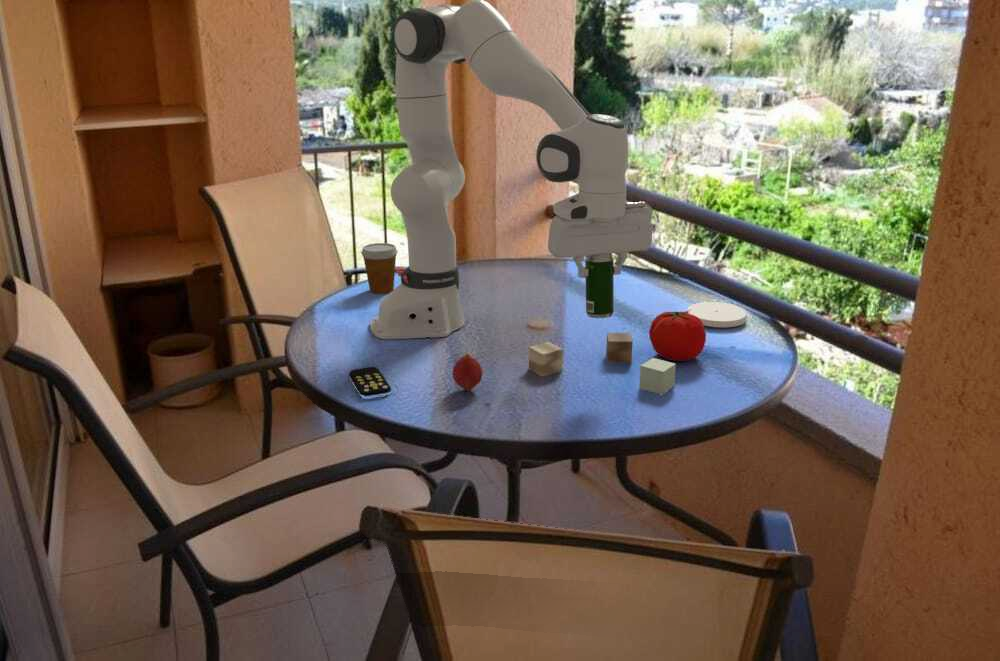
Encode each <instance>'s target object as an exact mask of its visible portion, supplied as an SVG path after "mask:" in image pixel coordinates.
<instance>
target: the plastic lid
mask: <svg viewBox="0 0 1000 661" xmlns="http://www.w3.org/2000/svg"><path fill="white" fill-rule="evenodd" d="M691 309H692V310H691ZM689 310H690V311H689ZM686 311H688V313H689V314H691V315H694V316H696V317H698V318H699V319H700V320H701V321H702V322H703V326H704V327H709V328H710V327H712V328H733V327H738V326H741V325H743V324H745V323H746V322H747V316H748V313H747V311H746V310H745V308H742V307H741V306H738V305H735V304H730V303H727V302H726V303H725V302H718V301H717V302H716V301H713V302H712V301H706V302H705V301H703V302H697V303H693V304H691V305H689V306H688V307H687V308H686Z"/></svg>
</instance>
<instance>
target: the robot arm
mask: <svg viewBox="0 0 1000 661" xmlns="http://www.w3.org/2000/svg"><path fill="white" fill-rule="evenodd" d="M392 38H393V40H392V41H393V44H394V48H395V50H396V52H397V55H396V61H395V96H396V97H395V98H396V106H397V108H396V109H397V117H398V125H399V126H398V128H399V134H400V136H401V138H402V139H403V140H404V142H405V143H406V146H407V148H408V150H409V153H410V157H411V162H412V164H410V165H408V166H405V167H404V168H403V169H402V170H401V171H400V172H399V173H398V174H397V175H396V177H395V178H394V179H393V180H392V183H391V186H390V196H391V201H392V203H393V204H394V206H395V207H396V209H398V211H399V212H400V214H401V217H402V220H403V224H404V228H405V232H406V239H407V254H408V266H407V267H406V268H404V267H403V266H398V267H397V268H395V271H396V272H395V273H396V274H397V276H398V277H400V284H399V285H397V287H394V290H393V291H392V292H390V293H387V294H386V295H385V296H384V297H383V298H382V300H381V301H380V304H379V309H378V315H377V316H373V318H371V320H370V321H369V330H370V332H371V334H373V335H374V336H375V337H376V338H378V339H381V340H401V339H402V340H404V339H405V340H406V339H424V338H425V339H426V337H430V338H443V337H448V336H449V335H451V333H453V332H454V331H456V330H460V329H461V328H463V326H464V325H465V324H466V321H465V318H464V315H463V311H462V308H461V302H460V295H459V290H460V289H459V287H460V271H459V266H458V265H457V241H456V237H457V236H456V233H455V231H454V229H453V228H452V226H451V223H450V220H449V216H448V211H447V204H448V203H449V202H451V201H453V200H454V199H455V198H456V197H457V196H458V195H459V194H460V193H461V191H462V189H463V187H464V186H465V184H466V172H465V169H464V167H463V165H462V164H461V162H460V161H459V159H458V155H457V151H456V148H455V144H454V141H453V137H452V132H451V126H450V115H449V113H450V112H449V103H448V102H449V101H448V94H447V93H448V92H447V91H448V90H447V83H446V81H447V80H446V72H447V68H448V67H449V65H450V64H451V63H455V64H456V65H460V64H463V63H464V62H466V63H467V64H468V66H469V68H470V69H471V71H472V72H473V73H474V75H475V77H476V78H477V79H478V80H479V81H478V82H480V83H481V84H482V85H483V86H484V87H485V88H486V89H487V90H488V91H489V92H492V94H494V95H497V96H500V97H505V98H511V99H517V100H521V101H523V102H528V103H531V104H533V105H535V106H536V107H539V108H540V109H542V110H543V111H544V112H546V114H547V115H548V116H549V117H550V118H551V120H552V121H553V122H554V123H555V124H556V125H557V127H558V128H559V129H560V130H557V131H554V132H550V133H549V134H546V135H545V136H543V138H541V140H540V141H539V142H538V145H537V148H536V154H535V156H536V165H537V168H538V171H539V172H540V173H541V175H542V176H543V177H544V178H545V179H546V180H548V182H551V183H559V184H561V183H562V184H563V183H569V182H576V183H577V184H578V193H576V194H573V195H572V196H569V197H566V198H565V199H561V200H559V201H556V202H555V203H554V204H553V213H554V214H556V215H555V216H553V218H552V220H551V221H550V224H549V231H548V238H547V239H548V240H547V241H548V242H547V243H548V244H547V249H548V251H549V253H550V254H551V256H553V257H555V258H557V259H562V258H563V259H564V258H572V261H573V262H574V263H575V266H576V267H577V274H578V277H579V278H580V279H586V278H587V277H588V276H589V275H588V273H589V269H588V268H586V267H585V266H583V263H582V262H585V256H586V257H587V255H599V254H610V253H611V254H616V256H617V258H616V259H615V262H613V273H614V276H616V275H617V276H618V275H621V273H622V266H623V265H624V263H625V261H626V260H627V258H628V252H629V253H630V252H640V251H641V252H642V251H648V250H649V249H650V248H651V246H652V245H653V232H652V220H653V209H652V206H651V205H650V204H648V203H646V201H639V202H627V191H628V190H627V188H628V187H627V184H626V173H627V169H628V165H629V139H628V137H629V136H628V131H627V126H626V125H625V123H624V122H623V121H622V120H621V119H620V118H618V117H616V116H613V115H610V114H609V115H608V114H601V113H593V114H590V112H589V111H588V110H587V109H586V107H584V105H583V104H582V103H581V102H580V101H579V100H578V98H577V97H576V96H575V95H574V94H573V93H572V91H570V89H569V88H568V87H567V86H566V85H565V83H564V82H563V81H562V80H561V79H560V78H559V77H558V75H556V74H555V73H554V72H553V71H552V70H551V69H549V67H547V66H546V65H545V64H544V63H542V61H541V60H539V59H538V57H536V56H535V55H534V53H532V51H531V50H530V49H529V48H528V46H527V45H526V44H525V43H524V42H523V40H522V39H521V38H520V37H519V35H518V34H517V33H516V31H515V30H514V28H513V27H512V26H511V25H510V23H509V22H508V20H506V18H505V17H504V16H503V15H502V14H501V13H500V12H499V11H498V10H497V9H496V8H495V7H494V6H493V5H491V4H490V3H489V2H488V1H487V0H470V1H467V2H465V3H464V4H462V5H454V4H450V5H449V4H440V5H437V6H430V7H429V6H428V7H424V8H420V7H415V8H412V9H408V10H406V11H404V12H402V13H400V14H399V15H398V16H397V18H396V19H395V22H394V25H393V29H392Z"/></svg>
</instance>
